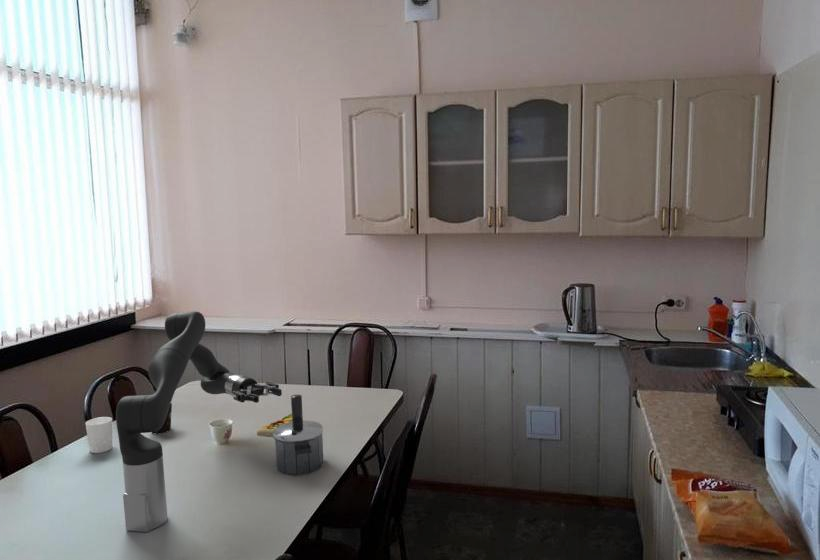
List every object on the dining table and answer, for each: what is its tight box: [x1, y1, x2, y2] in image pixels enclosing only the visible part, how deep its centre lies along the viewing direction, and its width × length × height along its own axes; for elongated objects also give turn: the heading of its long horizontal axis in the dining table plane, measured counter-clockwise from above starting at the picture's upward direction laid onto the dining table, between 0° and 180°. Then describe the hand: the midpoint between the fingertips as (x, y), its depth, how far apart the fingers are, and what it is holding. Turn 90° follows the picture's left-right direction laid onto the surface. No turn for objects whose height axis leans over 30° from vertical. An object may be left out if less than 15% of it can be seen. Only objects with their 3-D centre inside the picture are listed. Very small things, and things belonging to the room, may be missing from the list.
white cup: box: [85, 416, 113, 454], centre depth 197 cm, size 8×8×10 cm
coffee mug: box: [151, 400, 173, 435], centre depth 215 cm, size 12×9×10 cm
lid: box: [273, 394, 324, 444], centre depth 180 cm, size 15×15×12 cm
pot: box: [274, 434, 325, 476], centre depth 181 cm, size 20×14×10 cm
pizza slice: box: [256, 413, 292, 437], centre depth 215 cm, size 16×21×3 cm
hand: (269, 396), depth 186 cm, fingers open, 8 cm apart
